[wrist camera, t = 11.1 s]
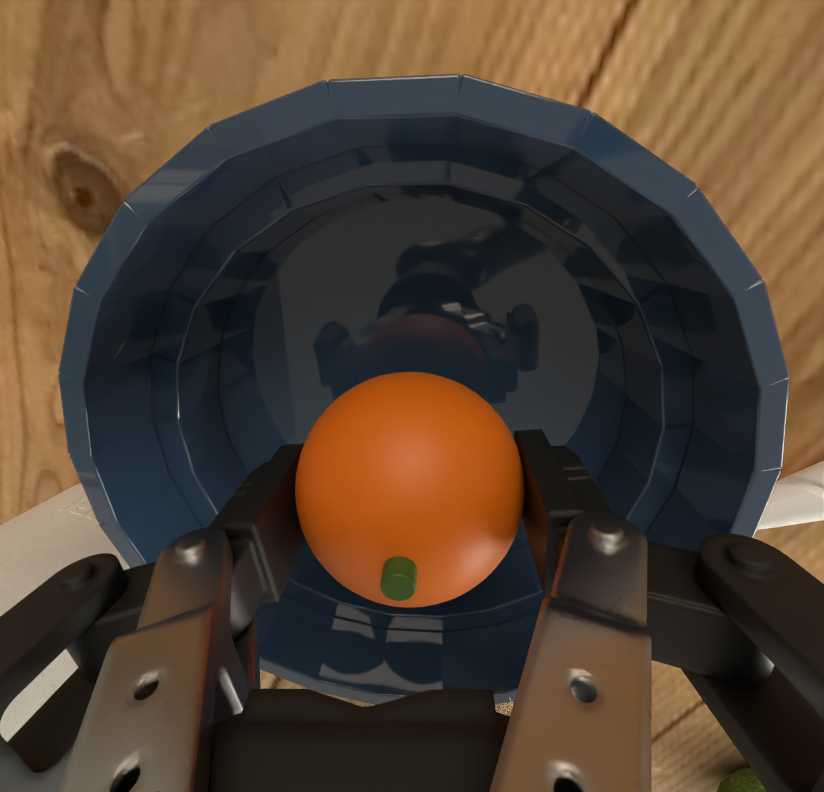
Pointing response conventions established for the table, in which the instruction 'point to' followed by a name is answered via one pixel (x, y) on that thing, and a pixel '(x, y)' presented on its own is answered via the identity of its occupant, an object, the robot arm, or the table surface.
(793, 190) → the table surface
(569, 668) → the robot arm
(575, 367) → the bowl
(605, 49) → the table surface
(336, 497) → the mandarin
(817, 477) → the unicorn horn
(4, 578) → the dixie cup
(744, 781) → the avocado
